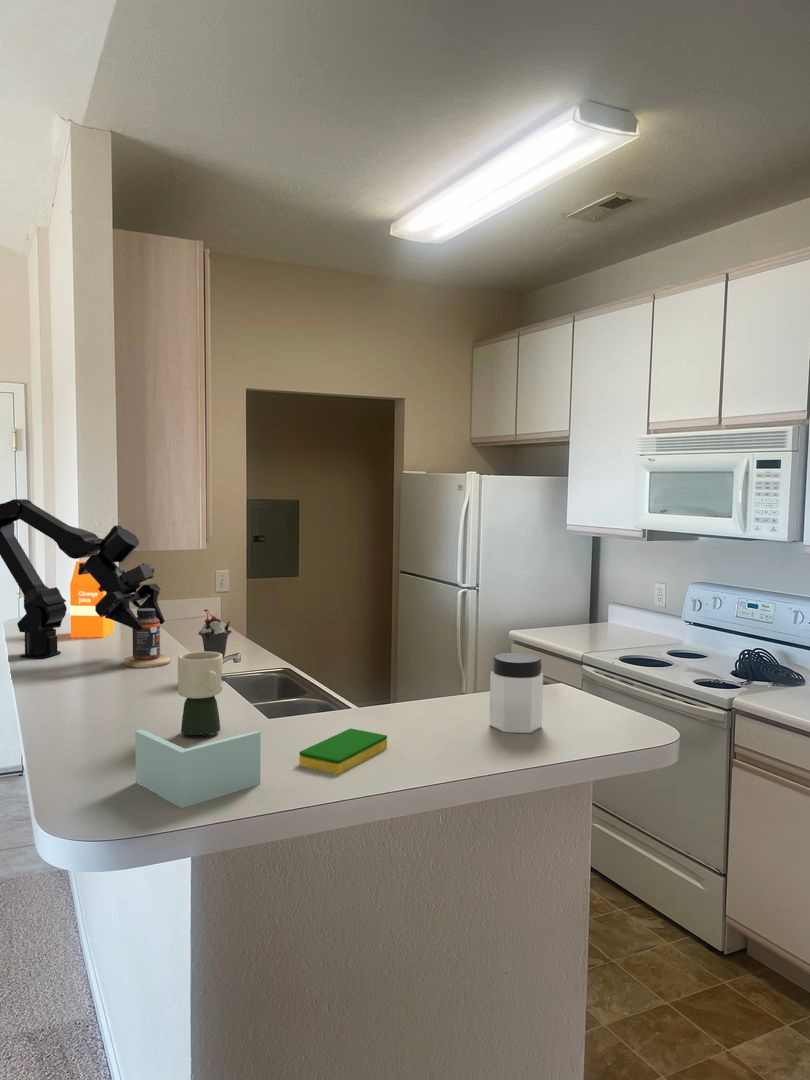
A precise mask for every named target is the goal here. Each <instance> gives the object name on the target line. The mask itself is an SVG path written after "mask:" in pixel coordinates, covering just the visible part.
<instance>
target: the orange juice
mask: <svg viewBox="0 0 810 1080" xmlns="http://www.w3.org/2000/svg"><path fill="white" fill-rule="evenodd" d="M86 561H87V560H86ZM86 561H82V560H81V561H80V560H78V561H76V562H75V565H74V569H73V573H72V577H71V581H70V583H69V587H70V588H69V589H70V590H69V591H70V592H69V594H70V595H69V596H70V599H69V600H70V602H69V603H70V606H69V609H70V610H69V611H70V612H69V613H70V638H71V637H105V636H107V635H109V634H111V633H112V632H114V633H115V621H114V620H111V619H106V618H105V616H104V617H100V616H99V615H98V614H97V613H96V611H95V605H96V604H97V603H98V602H99V601H100V600H101V599H102V598H103V597H104V595H105V594H106V592H105V591H104V592H100V591H99V590H98V588H99V587H100V585H99V584H98V583H97V582H96V580H95V579H94V578H93V577H92V576H91V575H90V573H89V574H84V575H78V570H79V563H85V562H86ZM111 635H112V634H111ZM109 636H110V635H109ZM107 637H108V636H107ZM105 638H106V637H105Z"/></svg>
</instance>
